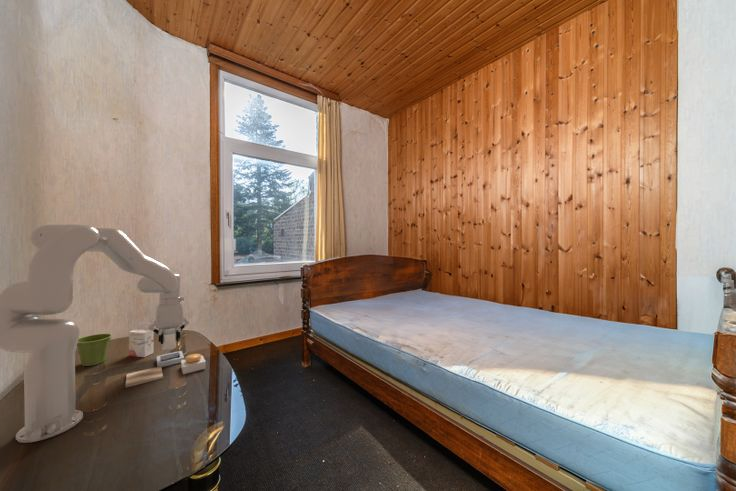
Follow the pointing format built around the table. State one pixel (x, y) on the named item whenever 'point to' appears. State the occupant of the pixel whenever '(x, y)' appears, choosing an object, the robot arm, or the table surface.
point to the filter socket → (168, 356)
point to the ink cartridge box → (141, 341)
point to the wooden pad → (143, 376)
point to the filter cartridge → (169, 338)
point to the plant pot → (93, 348)
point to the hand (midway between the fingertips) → (169, 341)
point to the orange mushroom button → (193, 358)
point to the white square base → (193, 365)
